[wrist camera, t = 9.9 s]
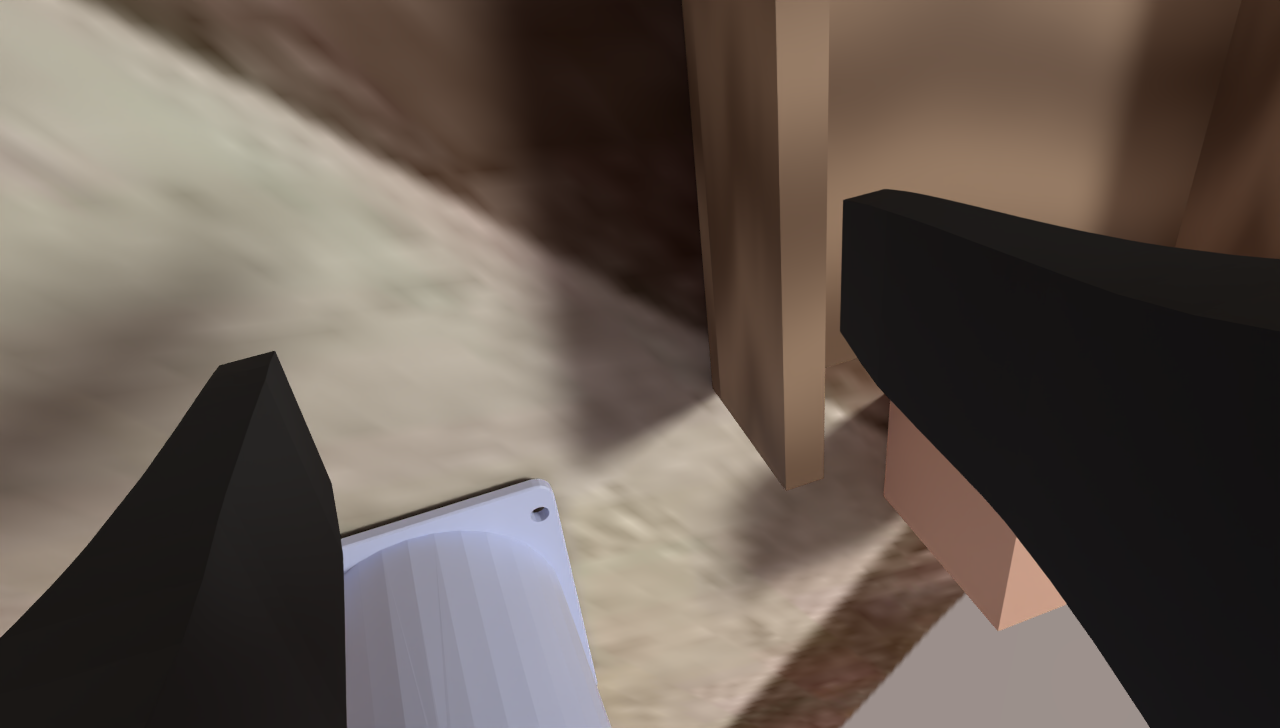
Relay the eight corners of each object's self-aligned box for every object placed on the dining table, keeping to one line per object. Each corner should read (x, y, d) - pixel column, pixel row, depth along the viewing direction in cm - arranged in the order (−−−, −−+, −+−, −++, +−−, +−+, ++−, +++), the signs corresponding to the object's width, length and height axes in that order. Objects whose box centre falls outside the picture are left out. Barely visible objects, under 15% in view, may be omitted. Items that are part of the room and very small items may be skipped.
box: (1182, 245, 28) (1313, 313, 24) (712, 388, 25) (785, 490, 21) (1333, -309, 20) (1564, -326, 16) (665, -205, 17) (771, -200, 13)
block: (998, 456, 31) (1129, 579, 26) (883, 495, 30) (997, 631, 25) (1015, 349, 28) (1165, 465, 23) (890, 389, 27) (1019, 518, 22)
